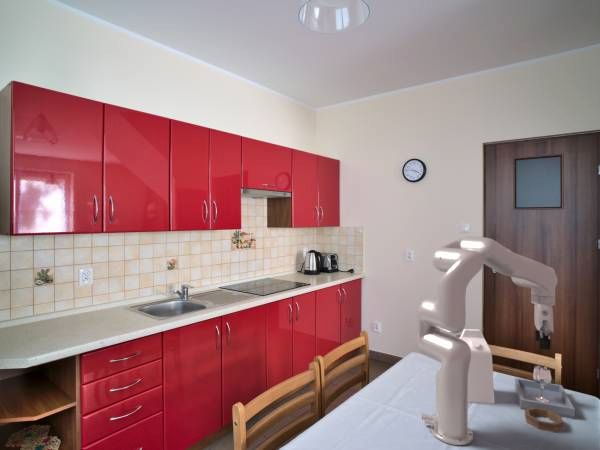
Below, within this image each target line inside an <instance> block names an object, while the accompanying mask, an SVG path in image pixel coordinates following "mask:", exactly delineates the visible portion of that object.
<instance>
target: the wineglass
mask: <svg viewBox="0 0 600 450" xmlns="http://www.w3.org/2000/svg"><path fill="white" fill-rule="evenodd" d="M532 377H533V378H532V379H533V381H535V382H536V383H537V384H539V385H541V391H542V395H541V397H536V398H535V399H536V400H537V401H540V402H544V403H548V402H549V400H548V399H547V398H544V397H543V389H544V387H543V386H546V385H549V384H550V383H551V384H552V375H551V370H550V368H549V367H546V366H543V365H535V366H534V368H533V371H532Z"/></svg>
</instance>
